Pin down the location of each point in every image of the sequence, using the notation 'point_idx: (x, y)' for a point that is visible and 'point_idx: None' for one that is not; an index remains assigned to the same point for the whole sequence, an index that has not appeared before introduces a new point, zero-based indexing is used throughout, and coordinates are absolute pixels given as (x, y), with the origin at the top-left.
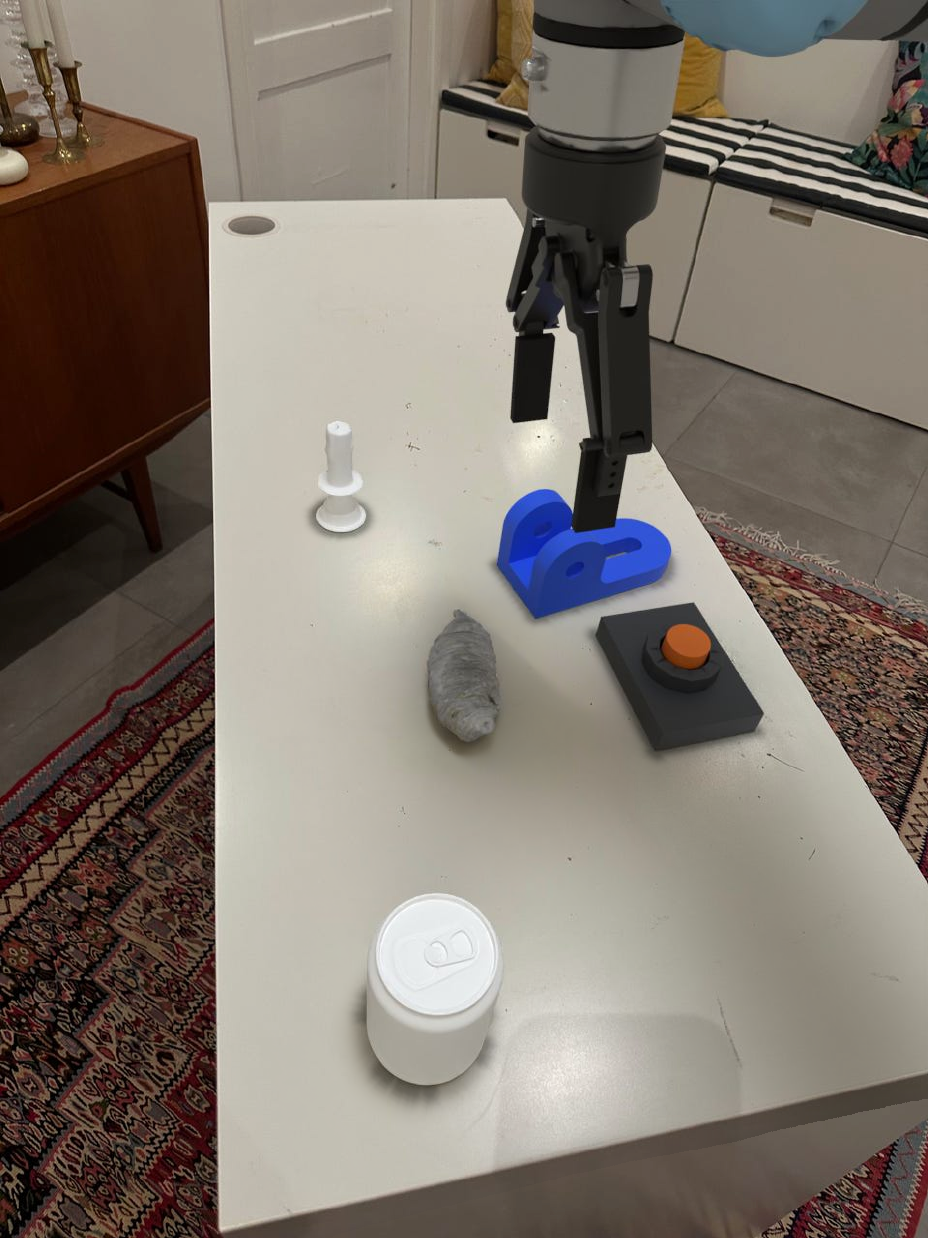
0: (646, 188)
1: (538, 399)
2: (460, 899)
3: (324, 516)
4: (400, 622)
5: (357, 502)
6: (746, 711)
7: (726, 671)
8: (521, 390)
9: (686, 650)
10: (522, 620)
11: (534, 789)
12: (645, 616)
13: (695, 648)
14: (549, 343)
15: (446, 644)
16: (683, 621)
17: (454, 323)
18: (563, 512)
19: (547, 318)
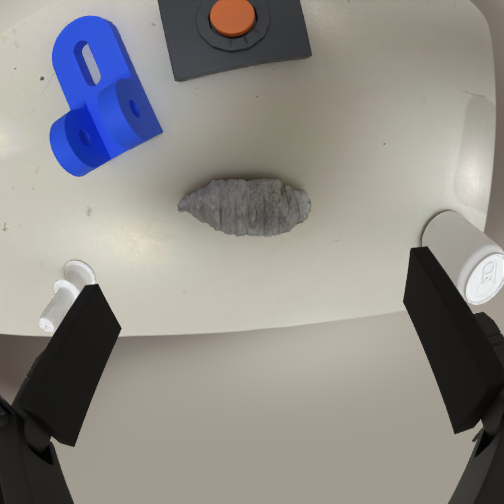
0: None
1: (91, 326)
2: (475, 269)
3: None
4: (174, 237)
5: (70, 271)
6: None
7: None
8: (97, 363)
9: (245, 19)
10: (164, 142)
11: (333, 155)
12: (174, 41)
13: (243, 11)
14: (42, 405)
15: (234, 229)
16: (181, 9)
17: None
18: (70, 123)
19: (33, 458)
